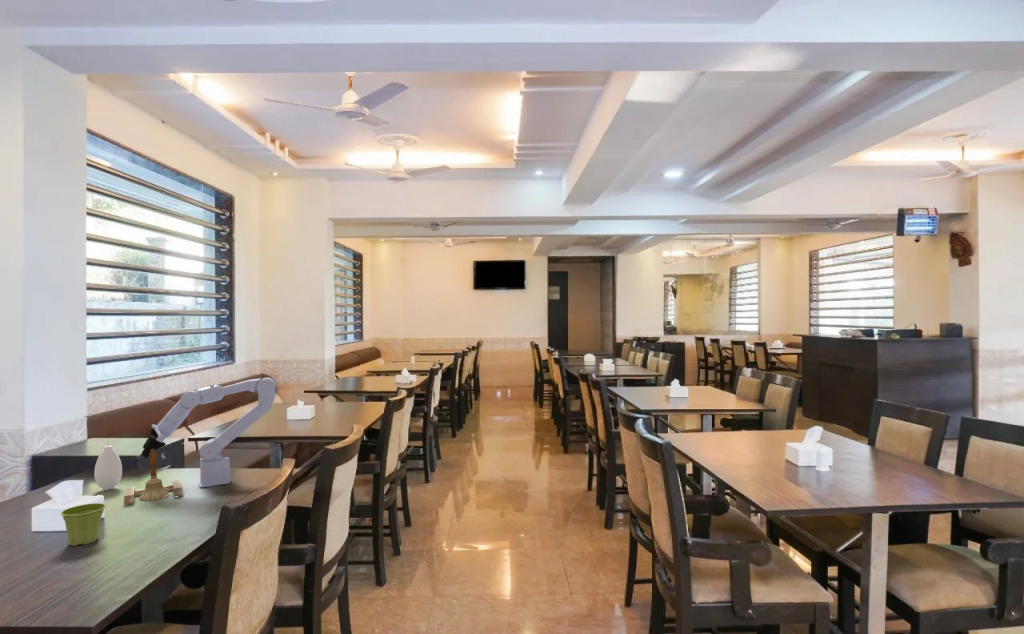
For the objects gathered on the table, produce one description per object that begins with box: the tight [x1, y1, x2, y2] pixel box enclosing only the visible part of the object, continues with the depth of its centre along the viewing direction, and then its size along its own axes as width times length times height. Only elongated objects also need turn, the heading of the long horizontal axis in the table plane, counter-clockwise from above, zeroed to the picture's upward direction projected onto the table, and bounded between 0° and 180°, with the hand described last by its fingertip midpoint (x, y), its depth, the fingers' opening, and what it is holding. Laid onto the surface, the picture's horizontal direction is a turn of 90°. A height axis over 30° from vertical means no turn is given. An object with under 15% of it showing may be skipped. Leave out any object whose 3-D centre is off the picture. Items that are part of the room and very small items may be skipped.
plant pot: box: [60, 502, 107, 547], centre depth 144 cm, size 9×9×9 cm
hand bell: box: [138, 449, 169, 501], centre depth 184 cm, size 8×8×16 cm
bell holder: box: [123, 479, 184, 506], centre depth 183 cm, size 16×11×3 cm
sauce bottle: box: [93, 438, 123, 491], centre depth 193 cm, size 8×8×18 cm
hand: (144, 452), depth 191 cm, fingers open, 7 cm apart
